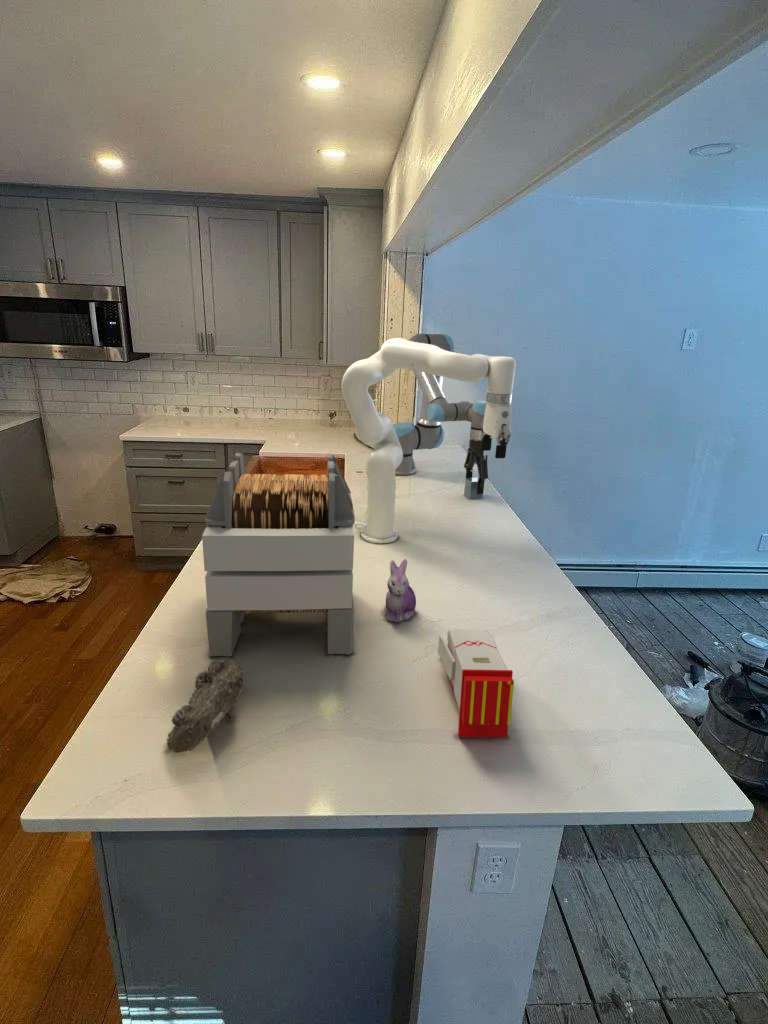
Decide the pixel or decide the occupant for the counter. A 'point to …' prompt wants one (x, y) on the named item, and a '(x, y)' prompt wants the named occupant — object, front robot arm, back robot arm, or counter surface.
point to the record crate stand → (279, 552)
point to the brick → (471, 488)
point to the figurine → (399, 594)
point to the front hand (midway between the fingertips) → (492, 454)
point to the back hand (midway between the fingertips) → (473, 489)
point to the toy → (478, 682)
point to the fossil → (206, 705)
